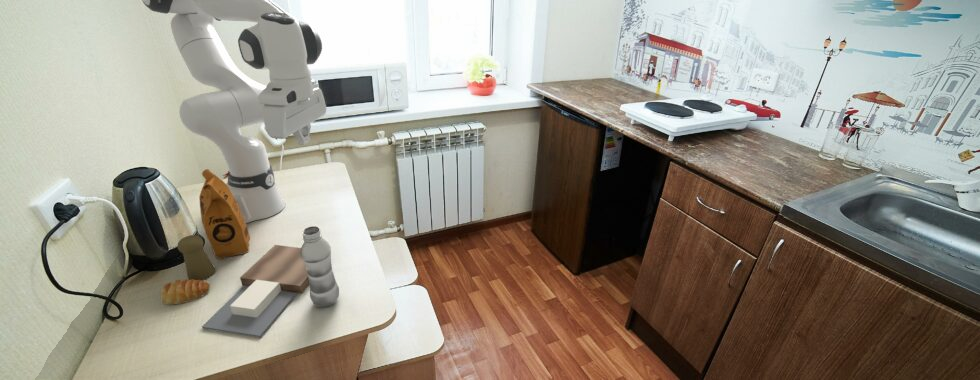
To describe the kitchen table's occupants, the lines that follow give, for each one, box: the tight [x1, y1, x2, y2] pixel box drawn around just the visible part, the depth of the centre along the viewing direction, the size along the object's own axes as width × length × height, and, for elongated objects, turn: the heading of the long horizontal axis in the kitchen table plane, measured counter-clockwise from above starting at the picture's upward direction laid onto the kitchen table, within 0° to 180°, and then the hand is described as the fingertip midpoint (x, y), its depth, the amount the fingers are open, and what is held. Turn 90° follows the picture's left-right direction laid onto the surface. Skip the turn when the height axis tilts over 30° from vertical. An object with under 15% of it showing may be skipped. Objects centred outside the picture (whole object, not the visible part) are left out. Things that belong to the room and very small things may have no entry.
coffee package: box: [198, 168, 251, 260], centre depth 112 cm, size 10×12×22 cm
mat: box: [201, 286, 298, 339], centre depth 95 cm, size 14×14×1 cm
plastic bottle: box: [300, 225, 340, 308], centre depth 94 cm, size 6×7×20 cm
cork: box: [177, 234, 217, 281], centre depth 104 cm, size 6×6×11 cm
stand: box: [239, 244, 310, 295], centre depth 107 cm, size 16×14×2 cm
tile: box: [230, 280, 281, 318], centre depth 97 cm, size 6×9×2 cm, turn 171°
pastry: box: [160, 278, 211, 306], centre depth 99 cm, size 9×7×4 cm
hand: (304, 142), depth 104 cm, fingers closed
